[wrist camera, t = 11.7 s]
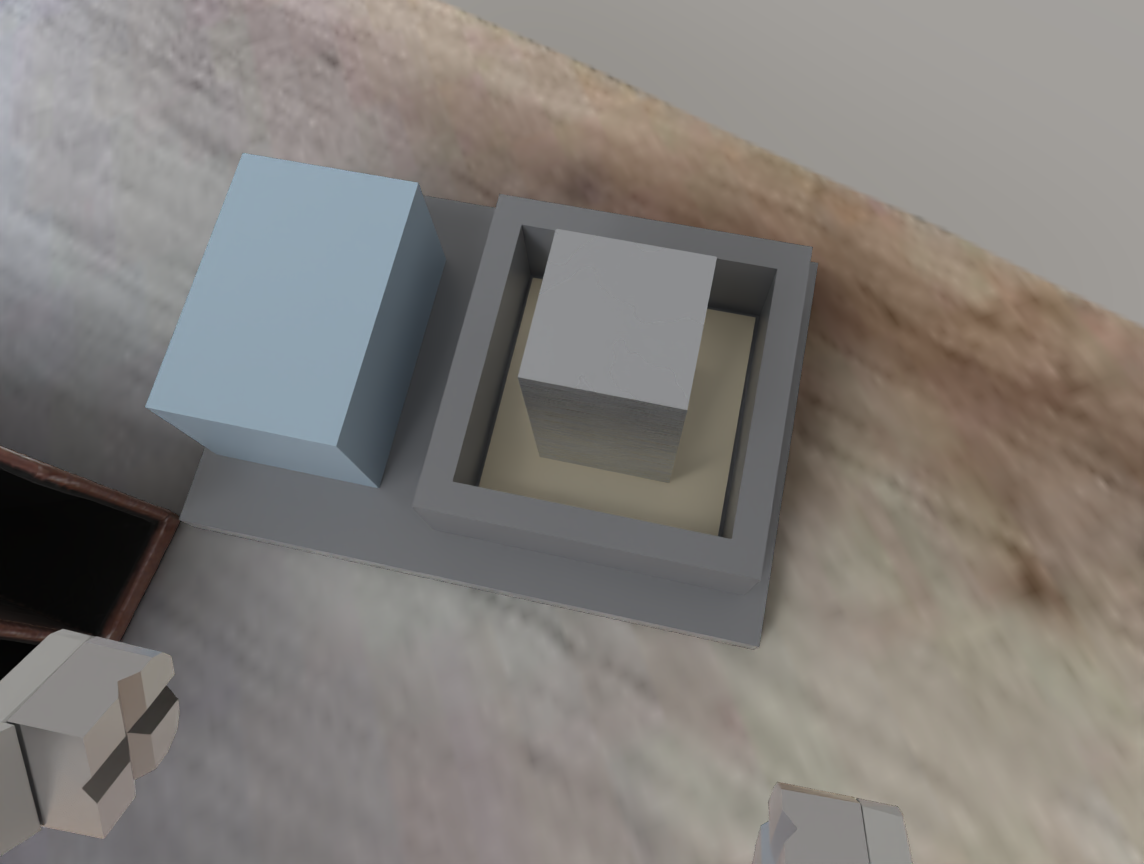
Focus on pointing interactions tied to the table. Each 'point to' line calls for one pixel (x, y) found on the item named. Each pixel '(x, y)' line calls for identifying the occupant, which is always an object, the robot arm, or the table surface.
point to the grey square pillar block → (614, 352)
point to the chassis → (472, 401)
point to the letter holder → (70, 555)
